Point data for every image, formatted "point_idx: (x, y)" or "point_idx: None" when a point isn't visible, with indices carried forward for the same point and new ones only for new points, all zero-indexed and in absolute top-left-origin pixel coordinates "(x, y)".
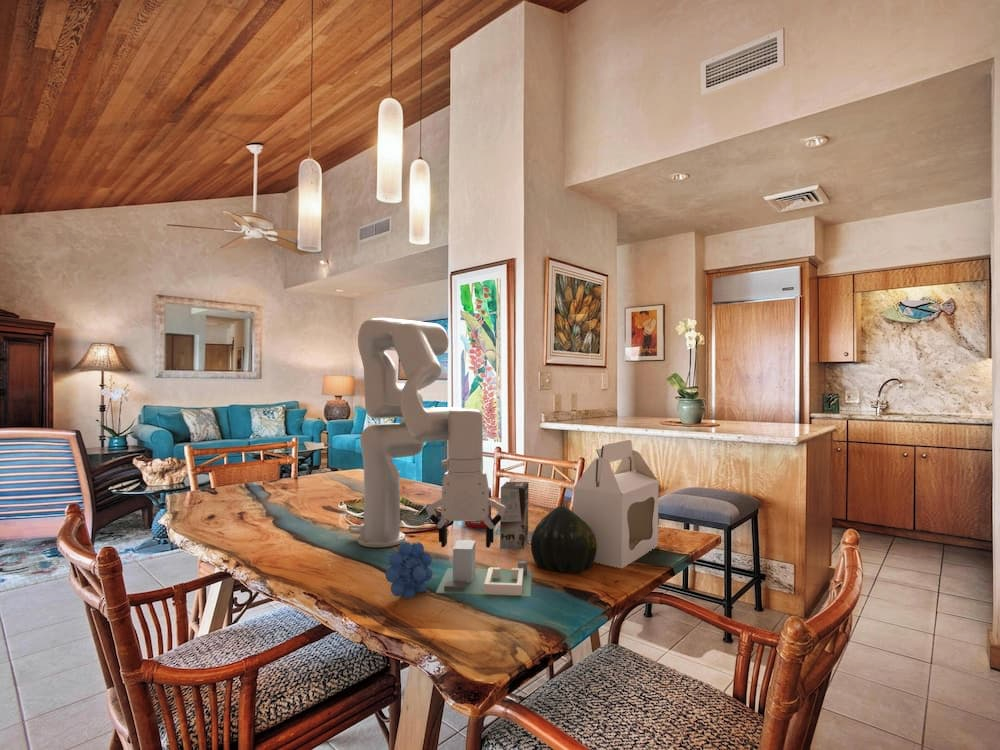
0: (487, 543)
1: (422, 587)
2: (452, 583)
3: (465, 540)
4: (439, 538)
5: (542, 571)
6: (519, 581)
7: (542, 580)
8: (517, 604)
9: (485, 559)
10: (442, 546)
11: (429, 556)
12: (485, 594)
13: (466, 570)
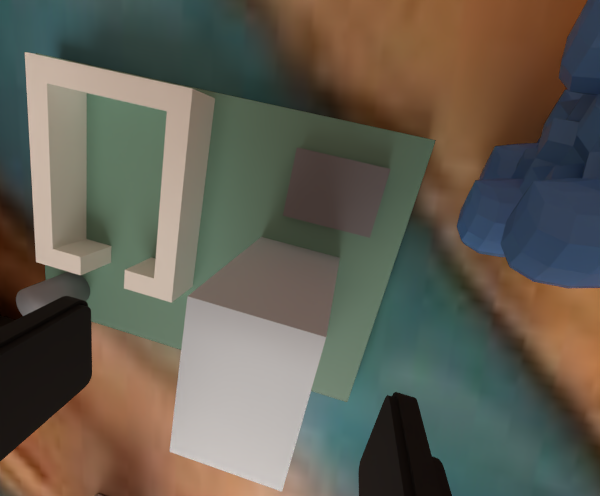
0: (54, 311)
1: (516, 146)
2: (347, 198)
3: (230, 470)
4: (441, 481)
5: None
6: (38, 106)
7: (31, 259)
8: (103, 46)
9: (208, 466)
10: (406, 395)
11: (559, 213)
12: (209, 91)
13: (269, 257)
